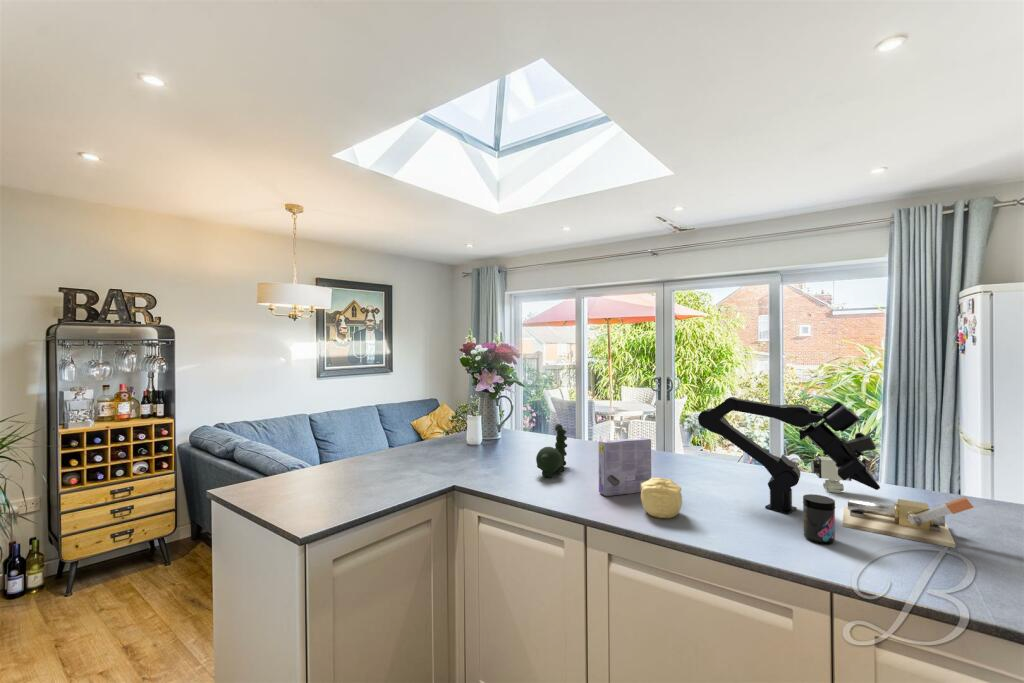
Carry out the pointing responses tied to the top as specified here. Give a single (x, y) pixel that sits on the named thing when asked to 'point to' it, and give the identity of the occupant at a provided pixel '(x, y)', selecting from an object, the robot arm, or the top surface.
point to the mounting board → (897, 529)
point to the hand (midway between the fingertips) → (878, 488)
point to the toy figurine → (553, 455)
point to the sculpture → (661, 497)
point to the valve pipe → (895, 512)
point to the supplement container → (819, 519)
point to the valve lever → (940, 511)
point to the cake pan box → (624, 465)
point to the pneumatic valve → (828, 474)
